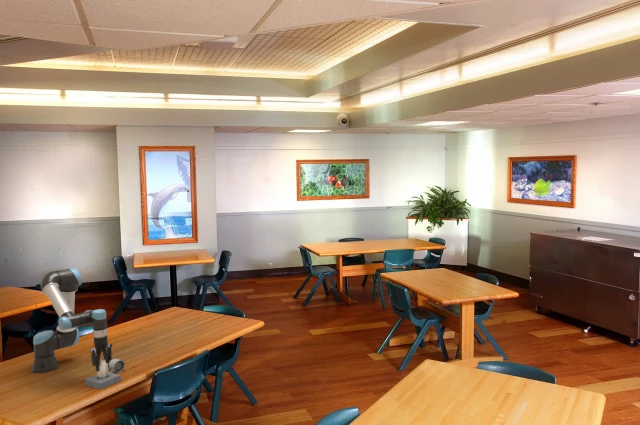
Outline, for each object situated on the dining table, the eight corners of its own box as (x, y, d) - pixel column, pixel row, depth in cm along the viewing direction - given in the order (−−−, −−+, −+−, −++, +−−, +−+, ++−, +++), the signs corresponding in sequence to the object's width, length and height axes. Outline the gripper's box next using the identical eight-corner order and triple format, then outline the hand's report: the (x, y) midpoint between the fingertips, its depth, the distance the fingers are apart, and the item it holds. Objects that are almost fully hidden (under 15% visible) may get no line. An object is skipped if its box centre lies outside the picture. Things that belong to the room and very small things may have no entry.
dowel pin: (97, 380, 310) (96, 361, 309) (103, 378, 313) (102, 358, 312) (102, 382, 308) (101, 362, 307) (108, 379, 311) (107, 360, 310)
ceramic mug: (118, 367, 335) (117, 356, 334) (125, 370, 330) (124, 358, 329) (102, 373, 327) (101, 361, 326) (110, 376, 322) (109, 364, 321)
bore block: (85, 384, 309) (84, 378, 308) (105, 376, 320) (105, 371, 320) (100, 389, 301) (99, 383, 301) (120, 380, 313) (120, 375, 313)
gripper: (91, 341, 300) (93, 380, 301) (116, 333, 314) (119, 371, 315) (83, 339, 304) (86, 378, 305) (109, 331, 318) (111, 369, 319)
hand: (102, 374), depth 310 cm, fingers closed on dowel pin, 4 cm apart
